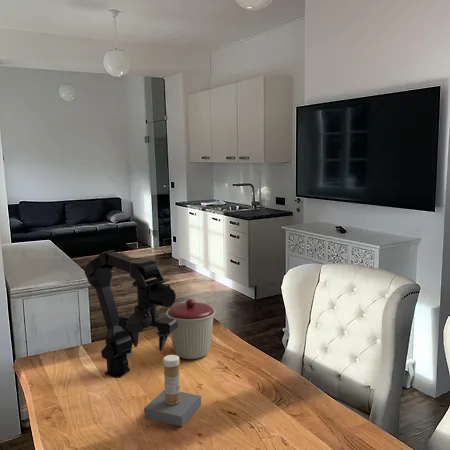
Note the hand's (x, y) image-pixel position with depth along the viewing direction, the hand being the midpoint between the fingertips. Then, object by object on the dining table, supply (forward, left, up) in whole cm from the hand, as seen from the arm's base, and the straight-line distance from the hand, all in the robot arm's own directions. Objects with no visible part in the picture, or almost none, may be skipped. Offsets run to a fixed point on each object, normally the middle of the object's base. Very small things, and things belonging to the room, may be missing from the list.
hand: (148, 348), depth 148 cm
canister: (+1, +28, -13) cm, 31 cm away
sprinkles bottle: (+14, -10, -10) cm, 20 cm away
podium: (+14, -10, -13) cm, 22 cm away
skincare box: (-22, +17, -13) cm, 31 cm away
